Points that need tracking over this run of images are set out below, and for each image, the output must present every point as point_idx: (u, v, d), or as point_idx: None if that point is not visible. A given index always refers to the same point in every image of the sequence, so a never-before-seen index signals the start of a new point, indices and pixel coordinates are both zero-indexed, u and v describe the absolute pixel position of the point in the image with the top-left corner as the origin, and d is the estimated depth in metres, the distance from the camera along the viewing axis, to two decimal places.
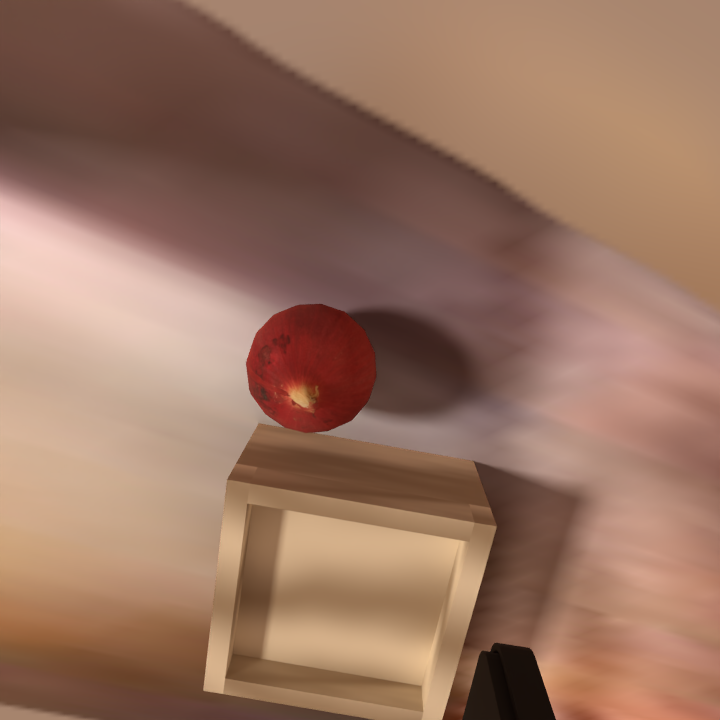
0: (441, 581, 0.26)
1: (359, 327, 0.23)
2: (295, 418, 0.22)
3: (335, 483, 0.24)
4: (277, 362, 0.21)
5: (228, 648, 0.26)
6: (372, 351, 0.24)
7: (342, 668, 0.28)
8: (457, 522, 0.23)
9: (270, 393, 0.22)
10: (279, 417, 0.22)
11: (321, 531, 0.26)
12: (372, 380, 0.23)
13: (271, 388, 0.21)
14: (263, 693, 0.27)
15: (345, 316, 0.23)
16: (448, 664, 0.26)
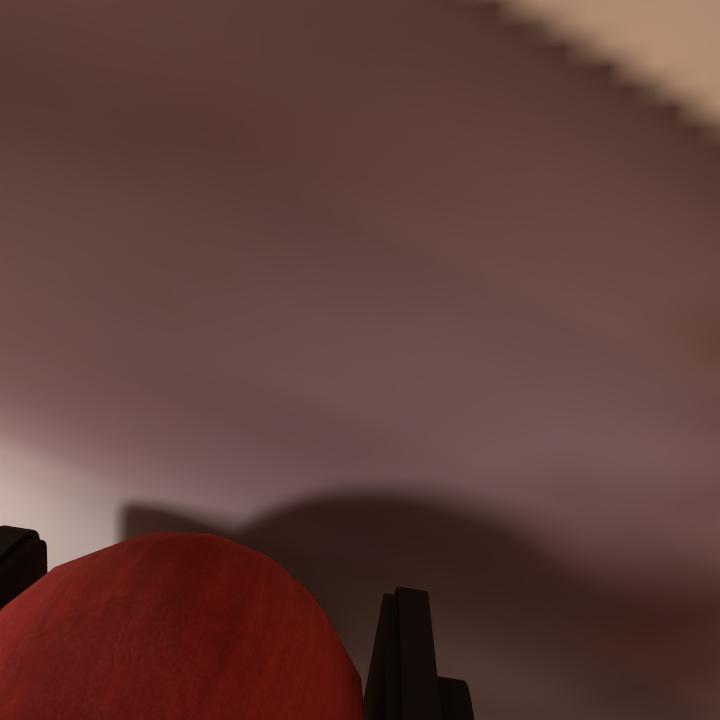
0: None
1: (309, 659, 0.06)
2: None
3: None
4: None
5: None
6: None
7: None
8: None
9: None
10: None
11: None
12: None
13: None
14: None
15: (254, 634, 0.06)
16: None
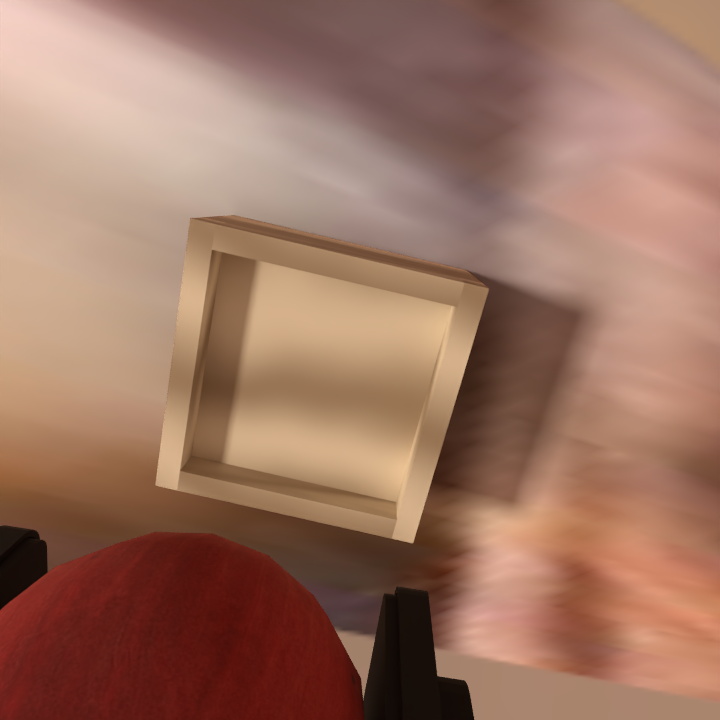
0: (424, 373, 0.24)
1: (309, 660, 0.06)
2: None
3: (312, 243, 0.22)
4: None
5: (184, 434, 0.23)
6: None
7: (310, 477, 0.25)
8: (445, 281, 0.21)
9: None
10: None
11: (294, 306, 0.23)
12: None
13: None
14: (221, 491, 0.24)
15: (253, 634, 0.06)
16: (427, 461, 0.23)
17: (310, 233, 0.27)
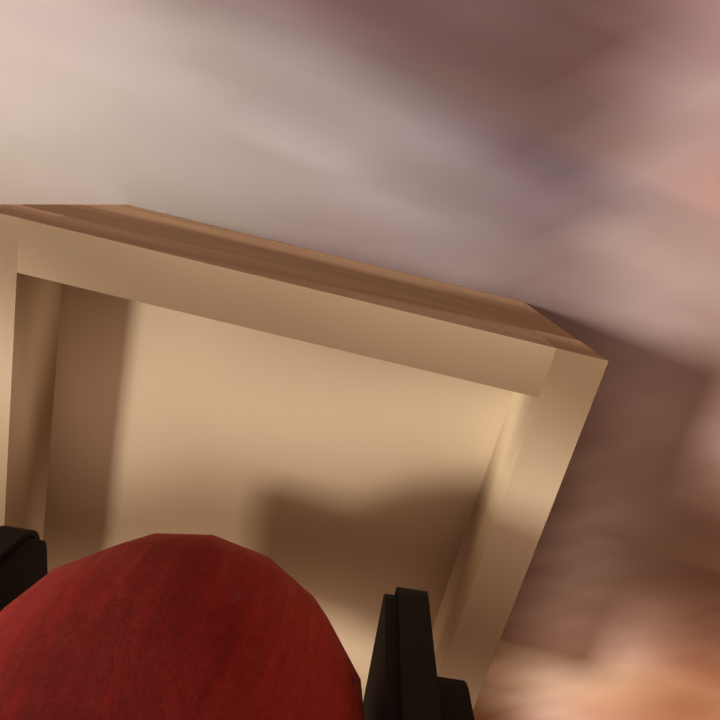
0: (458, 506, 0.12)
1: (308, 661, 0.06)
2: None
3: (238, 260, 0.11)
4: None
5: None
6: None
7: None
8: (515, 345, 0.10)
9: None
10: None
11: (210, 381, 0.12)
12: None
13: None
14: None
15: (253, 636, 0.06)
16: (464, 679, 0.12)
17: (257, 237, 0.15)
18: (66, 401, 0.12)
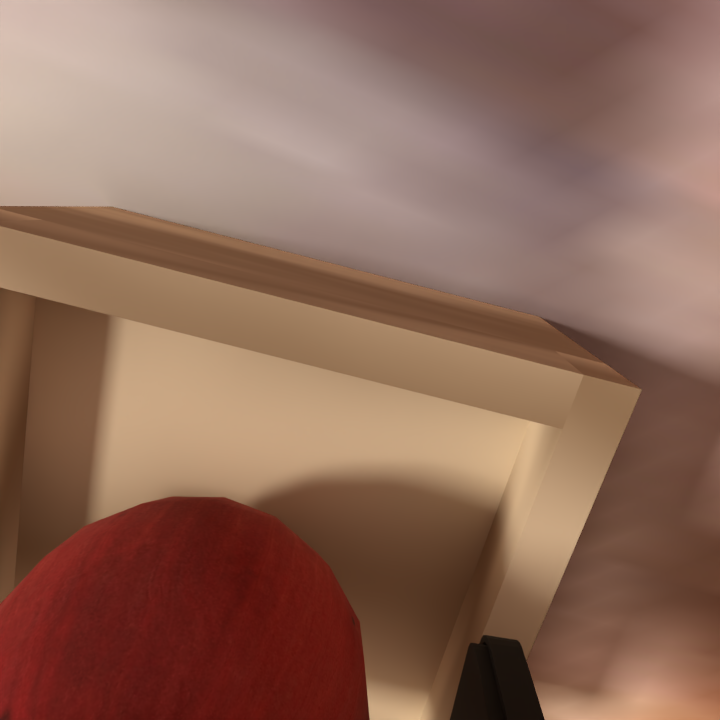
0: (468, 541, 0.11)
1: (315, 598, 0.07)
2: None
3: (230, 270, 0.10)
4: None
5: None
6: (357, 668, 0.08)
7: None
8: (537, 370, 0.09)
9: None
10: None
11: (198, 401, 0.11)
12: None
13: None
14: None
15: (267, 575, 0.07)
16: None
17: None
18: (40, 421, 0.11)
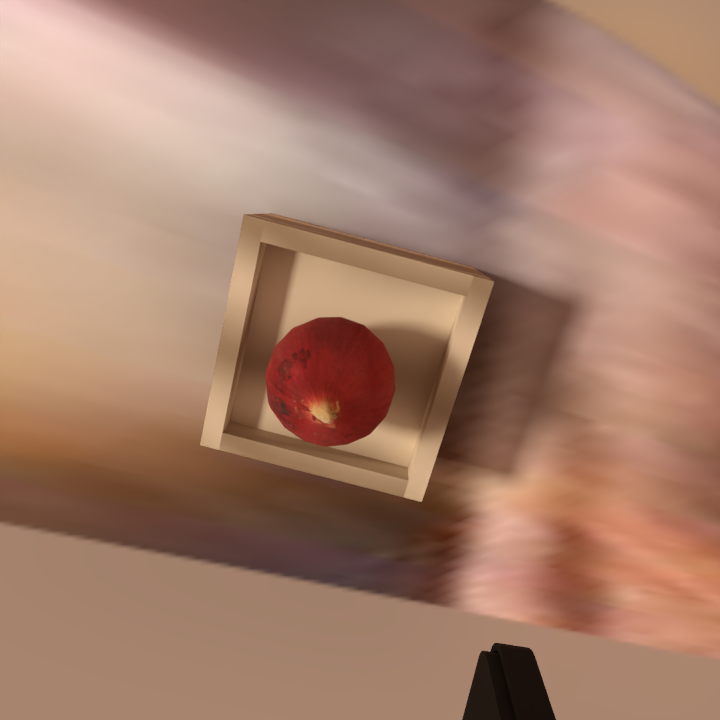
0: (435, 354, 0.27)
1: (378, 340, 0.23)
2: (315, 433, 0.22)
3: (344, 239, 0.26)
4: (297, 377, 0.21)
5: (228, 400, 0.27)
6: (391, 364, 0.23)
7: None
8: (457, 274, 0.25)
9: (290, 407, 0.21)
10: (299, 431, 0.22)
11: (326, 293, 0.27)
12: (392, 394, 0.23)
13: (291, 402, 0.21)
14: (257, 451, 0.28)
15: (364, 329, 0.23)
16: (436, 429, 0.27)
17: (338, 231, 0.30)
18: (260, 302, 0.27)
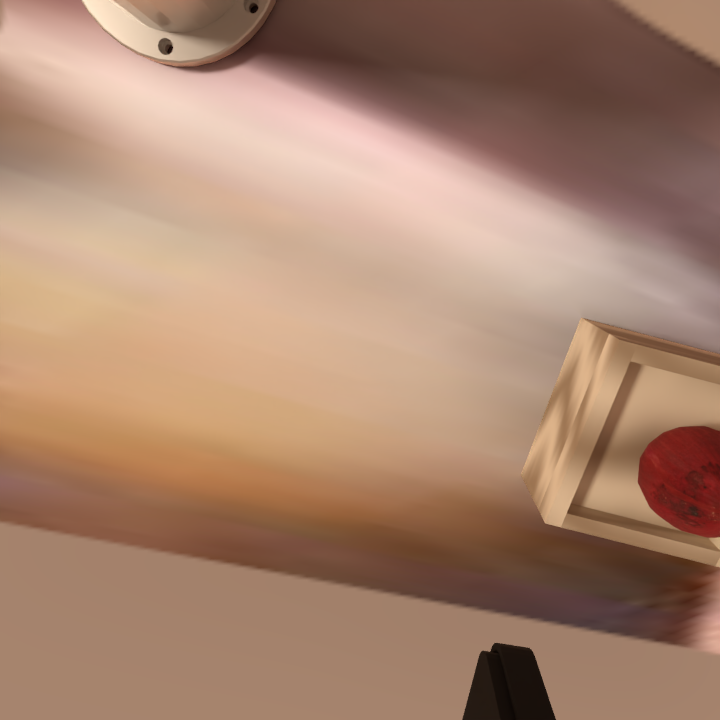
0: None
1: None
2: None
3: (689, 355, 0.31)
4: (715, 488, 0.26)
5: (576, 487, 0.32)
6: None
7: (646, 518, 0.34)
8: None
9: (704, 512, 0.26)
10: (701, 529, 0.27)
11: (662, 397, 0.32)
12: None
13: (708, 508, 0.26)
14: (594, 528, 0.33)
15: None
16: None
17: None
18: None
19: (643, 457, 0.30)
